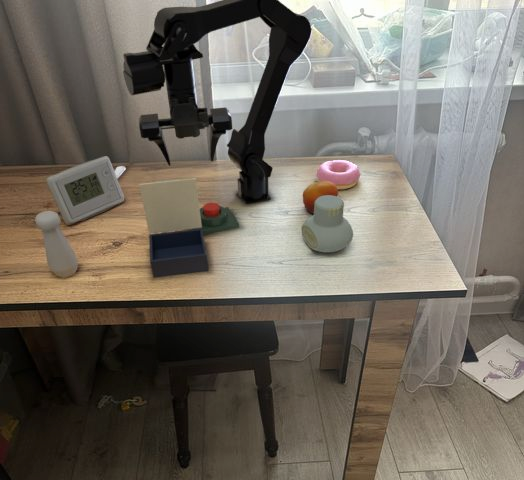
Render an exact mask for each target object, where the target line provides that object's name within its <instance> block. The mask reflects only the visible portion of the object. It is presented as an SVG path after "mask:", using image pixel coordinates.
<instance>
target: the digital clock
mask: <svg viewBox="0 0 524 480" xmlns="http://www.w3.org/2000/svg"><path fill="white" fill-rule="evenodd" d="M114 171H115V169H114V166H113V165H112V161H111V159H110V158H109V156H106V155H105V156H101V157H98V158H96V159H90V160H88V161H85V162H83V163H80V164H76V165H73V166H71V167H69V168H67V169H64V170H61V171H60V172H58V173H56V174H53V175H50V176H48V177H47V178H46V180H45V181H46V185H47V188H48V190H49V191H50V193H51V196H52V198H53V201H54V202H55V204H56V207H57V208H58V211H59V213H60V216H61V218H62V220H63V221H64V223H65V224H66V225H67V226H72V225H74V224H76V223H79V222H84V221H86V220H88V219H91V218H92V217H96V216H98V215H100V214H102V213H104V212H107V211H109V210H112V209H113V208H114V207H115V206H117V205H119V204H122V203H123V202H124V201H125V195H124V193H123V190H122V187H121V185H120V183H119V182H120V181H119V180H118V179H117V177H116V174H115V172H114Z"/></svg>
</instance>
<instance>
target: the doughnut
mask: <svg viewBox="0 0 524 480" xmlns="http://www.w3.org/2000/svg"><path fill="white" fill-rule="evenodd" d="M315 174H316V175H315V176H316V180H317V182H323V181H329V182H332V183H333V184H334V185H336V187H337V189H338V190H346V189H350V188H352V187H354V186H355V185H356V184H357V183H358V182H359V180H360V179H361V178H360V177H361V174H362V173H361V170H360V168H359V166H358V165H356V164H355V163H354V162H351V161H348V160H341V159H332V160H327V161H326V162H323V163H322V164H320V165H319V166H318V169H316V172H315Z"/></svg>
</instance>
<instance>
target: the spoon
mask: <svg viewBox="0 0 524 480" xmlns="http://www.w3.org/2000/svg"><path fill="white" fill-rule="evenodd" d="M126 170H127V169H126V166H124V165H120V166H119V165H118V166H117V167H115V169H114V172H115V174H116V177H117V180H118V179H119V178H120V177H121V175H123V173H124V172H125V171H126Z"/></svg>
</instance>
